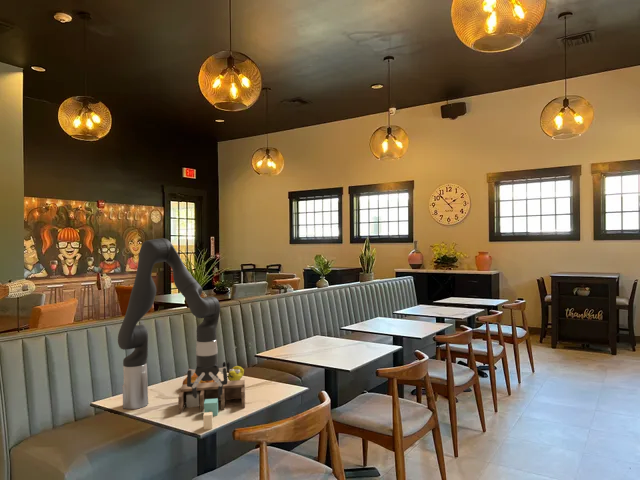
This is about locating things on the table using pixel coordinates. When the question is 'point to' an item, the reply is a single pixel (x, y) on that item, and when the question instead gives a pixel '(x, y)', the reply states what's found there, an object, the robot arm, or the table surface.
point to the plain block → (193, 399)
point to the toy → (234, 372)
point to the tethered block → (210, 412)
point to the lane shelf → (214, 393)
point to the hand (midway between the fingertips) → (207, 396)
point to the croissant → (195, 379)
